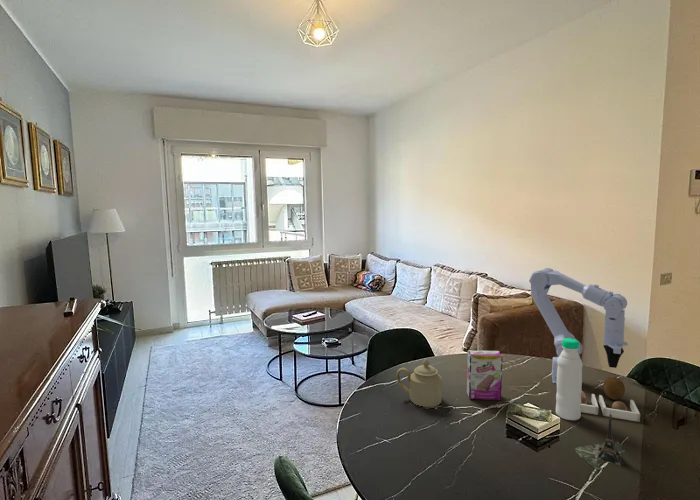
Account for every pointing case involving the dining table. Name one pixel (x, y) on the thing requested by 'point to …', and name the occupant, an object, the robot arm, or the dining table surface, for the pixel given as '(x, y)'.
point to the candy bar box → (484, 375)
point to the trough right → (620, 411)
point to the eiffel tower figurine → (602, 451)
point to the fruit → (614, 388)
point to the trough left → (590, 407)
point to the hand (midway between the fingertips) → (612, 366)
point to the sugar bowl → (423, 385)
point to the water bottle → (569, 381)
